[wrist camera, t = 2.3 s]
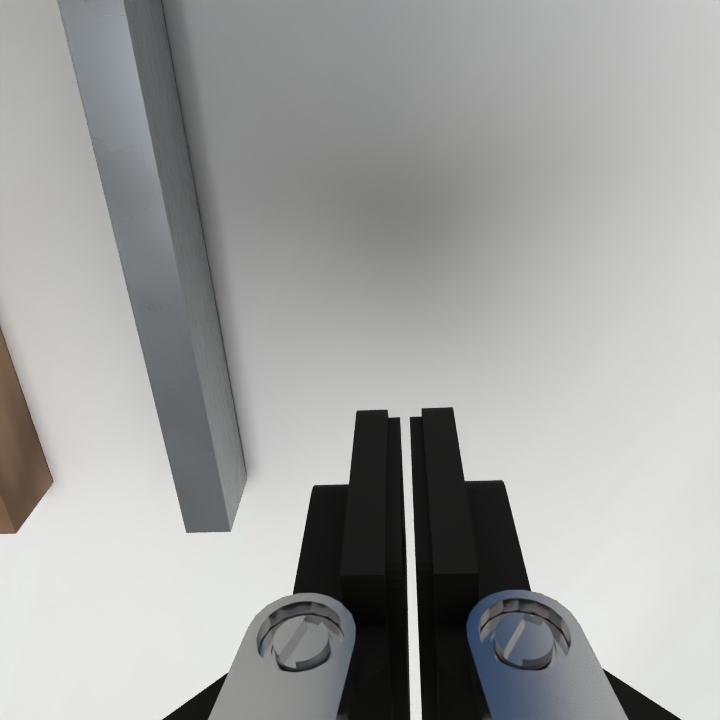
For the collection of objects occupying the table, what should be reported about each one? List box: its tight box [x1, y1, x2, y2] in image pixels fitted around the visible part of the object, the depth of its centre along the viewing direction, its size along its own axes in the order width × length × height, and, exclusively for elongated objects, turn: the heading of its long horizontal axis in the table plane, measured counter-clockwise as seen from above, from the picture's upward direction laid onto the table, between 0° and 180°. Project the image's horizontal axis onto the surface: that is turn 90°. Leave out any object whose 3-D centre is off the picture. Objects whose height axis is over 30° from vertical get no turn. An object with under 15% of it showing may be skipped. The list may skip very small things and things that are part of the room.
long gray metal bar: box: [58, 0, 247, 533], centre depth 21 cm, size 18×2×3 cm, turn 4°
